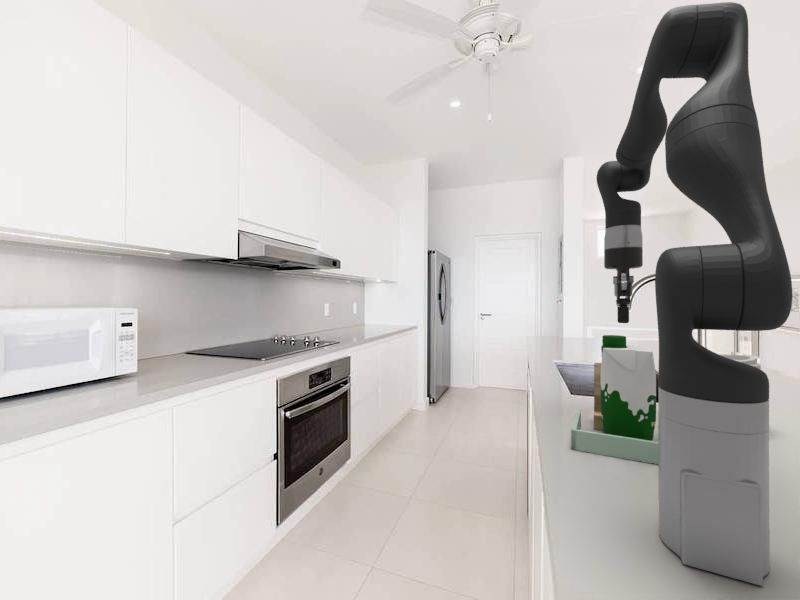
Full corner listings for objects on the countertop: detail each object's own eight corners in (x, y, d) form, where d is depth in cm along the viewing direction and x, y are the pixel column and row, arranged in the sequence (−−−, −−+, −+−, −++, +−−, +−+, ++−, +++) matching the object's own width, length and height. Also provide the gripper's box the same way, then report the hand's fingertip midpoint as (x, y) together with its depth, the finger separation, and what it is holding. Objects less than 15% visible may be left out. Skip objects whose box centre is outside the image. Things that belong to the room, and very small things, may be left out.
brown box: (651, 438, 72) (651, 371, 72) (593, 429, 77) (593, 367, 77) (648, 427, 78) (648, 365, 78) (594, 419, 83) (594, 362, 83)
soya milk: (601, 429, 77) (601, 333, 77) (654, 437, 72) (653, 335, 72) (599, 443, 69) (599, 337, 69) (658, 453, 65) (657, 340, 64)
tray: (706, 473, 57) (706, 450, 57) (571, 449, 67) (571, 430, 67) (689, 442, 69) (689, 424, 69) (576, 425, 79) (576, 409, 79)
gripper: (645, 242, 77) (645, 325, 77) (640, 249, 88) (640, 321, 88) (604, 245, 80) (604, 324, 80) (604, 252, 92) (604, 321, 92)
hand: (623, 322), depth 84 cm, fingers closed
